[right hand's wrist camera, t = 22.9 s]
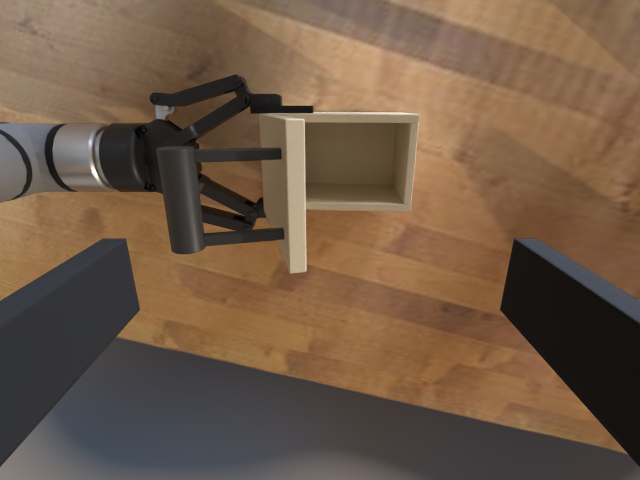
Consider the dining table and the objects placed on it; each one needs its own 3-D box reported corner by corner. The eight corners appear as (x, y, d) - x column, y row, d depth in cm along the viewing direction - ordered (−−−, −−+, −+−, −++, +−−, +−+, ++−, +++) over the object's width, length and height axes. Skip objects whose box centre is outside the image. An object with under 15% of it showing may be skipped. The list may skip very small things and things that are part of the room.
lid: (305, 119, 21) (144, 119, 19) (306, 272, 24) (171, 286, 22) (270, 113, 35) (178, 113, 33) (274, 210, 38) (191, 215, 36)
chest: (402, 112, 45) (419, 114, 34) (396, 189, 48) (410, 211, 38) (283, 112, 46) (266, 113, 35) (286, 187, 49) (270, 209, 39)
